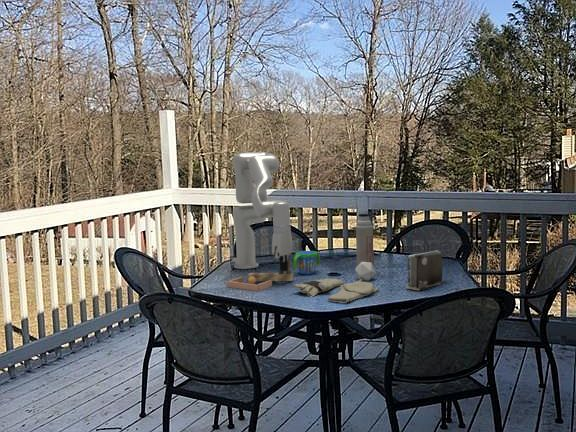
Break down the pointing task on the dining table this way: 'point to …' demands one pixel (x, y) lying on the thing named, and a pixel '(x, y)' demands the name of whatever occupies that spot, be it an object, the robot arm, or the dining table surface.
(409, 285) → the radio
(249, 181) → the robot arm
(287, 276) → the lever
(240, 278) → the open frame
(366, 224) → the thermos bottle
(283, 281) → the pivot base
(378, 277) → the dining table surface
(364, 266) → the die
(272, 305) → the dining table surface
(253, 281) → the ball
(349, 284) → the pair of gloves
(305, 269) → the snack cup
